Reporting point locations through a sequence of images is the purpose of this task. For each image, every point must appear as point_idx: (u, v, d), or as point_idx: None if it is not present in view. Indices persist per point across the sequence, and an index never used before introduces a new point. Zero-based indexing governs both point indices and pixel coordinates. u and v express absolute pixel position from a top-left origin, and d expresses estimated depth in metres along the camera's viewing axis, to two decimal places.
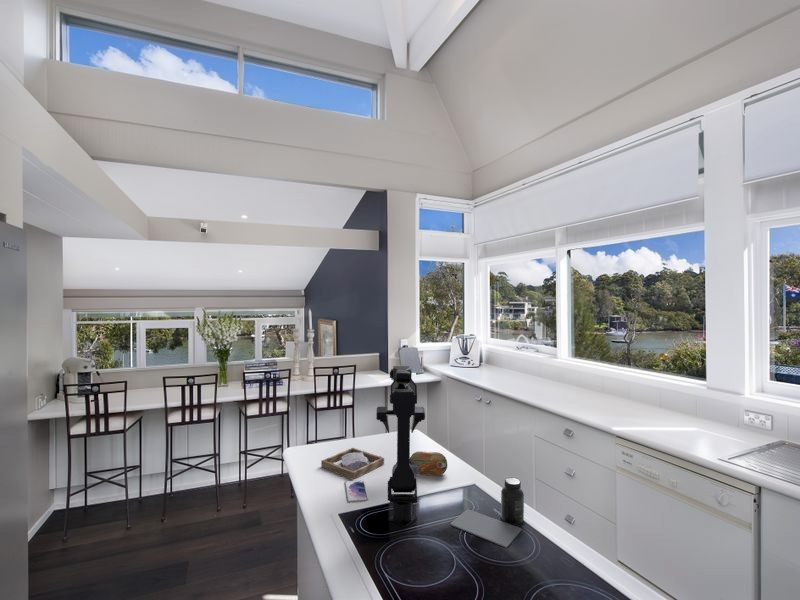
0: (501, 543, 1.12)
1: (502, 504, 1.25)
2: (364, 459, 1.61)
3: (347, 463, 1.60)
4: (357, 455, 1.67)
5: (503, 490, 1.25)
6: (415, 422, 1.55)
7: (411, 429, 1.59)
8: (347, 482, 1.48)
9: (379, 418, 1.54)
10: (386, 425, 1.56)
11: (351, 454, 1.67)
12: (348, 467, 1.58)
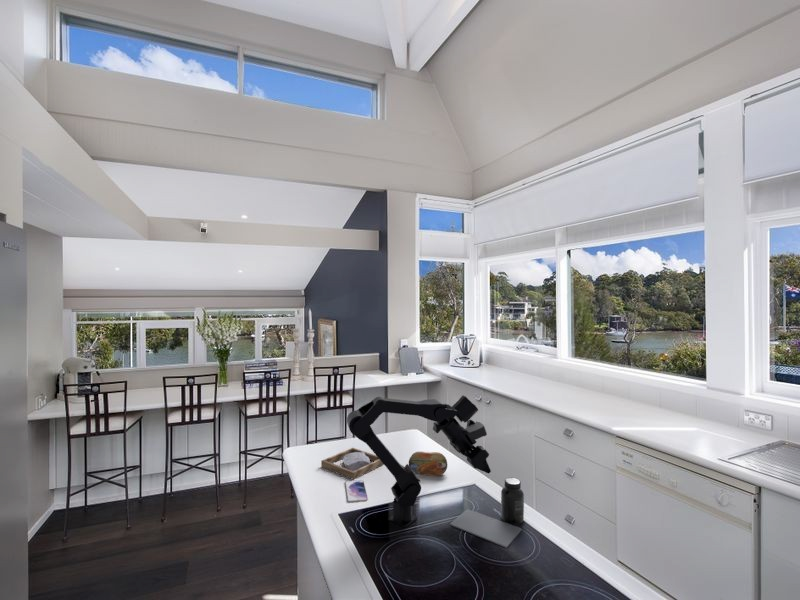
0: (501, 543, 1.12)
1: (502, 504, 1.25)
2: (366, 459, 1.61)
3: (349, 463, 1.60)
4: (359, 455, 1.67)
5: (503, 490, 1.25)
6: None
7: None
8: (347, 482, 1.48)
9: (452, 446, 1.37)
10: None
11: (353, 454, 1.68)
12: (350, 467, 1.58)
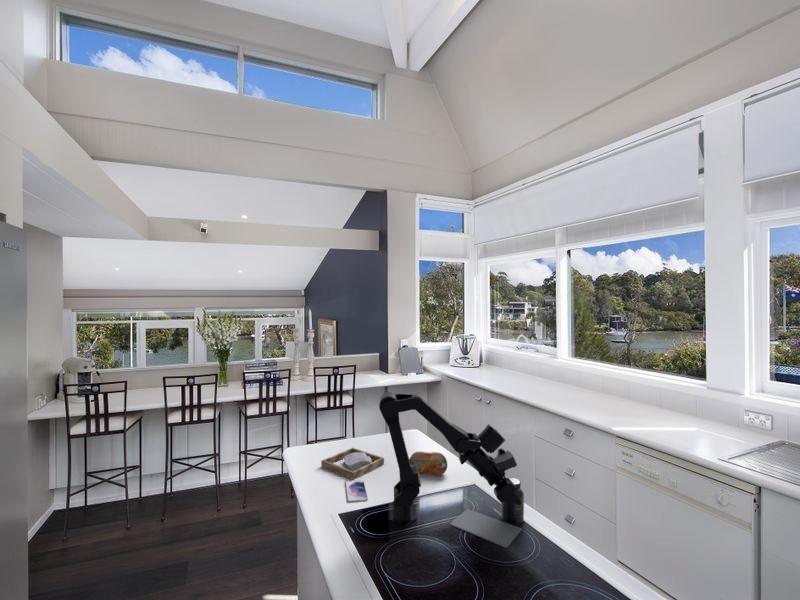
0: (501, 543, 1.12)
1: (502, 504, 1.25)
2: (368, 459, 1.62)
3: (351, 463, 1.60)
4: (360, 455, 1.67)
5: None
6: None
7: None
8: (347, 482, 1.48)
9: None
10: None
11: (354, 454, 1.68)
12: (352, 467, 1.58)
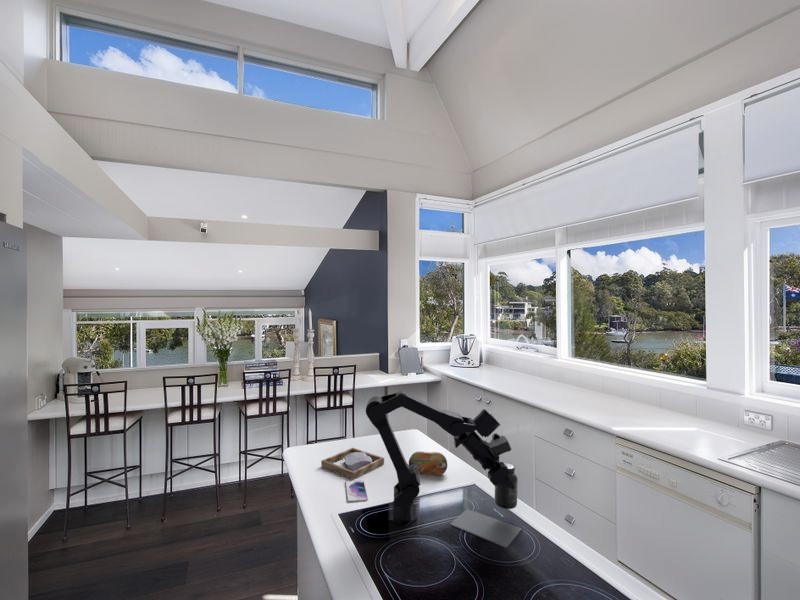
0: (501, 543, 1.12)
1: (496, 488, 1.24)
2: (368, 458, 1.62)
3: (351, 463, 1.60)
4: (360, 455, 1.67)
5: None
6: None
7: None
8: (347, 482, 1.48)
9: None
10: None
11: (354, 454, 1.68)
12: (353, 467, 1.58)
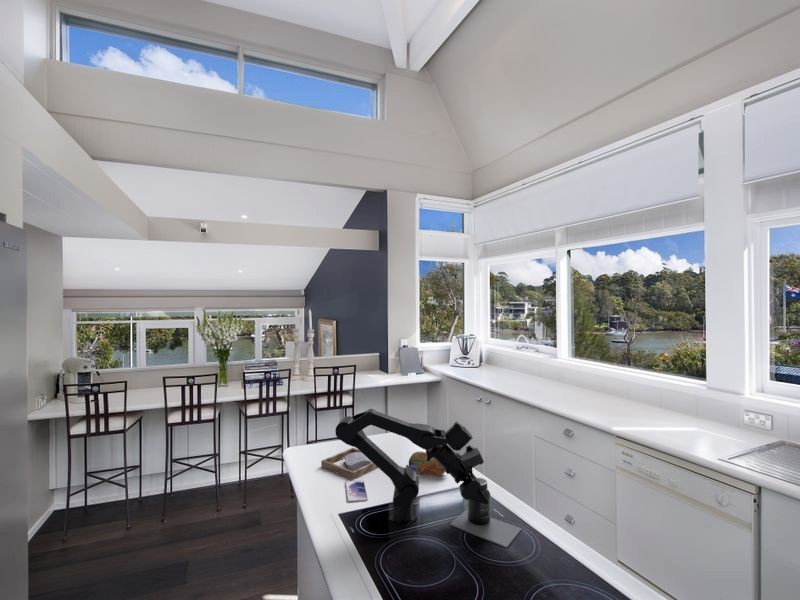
0: (501, 543, 1.12)
1: (468, 505, 1.23)
2: None
3: (352, 463, 1.60)
4: (360, 455, 1.67)
5: None
6: None
7: None
8: (347, 482, 1.48)
9: None
10: None
11: (354, 454, 1.68)
12: (353, 467, 1.58)
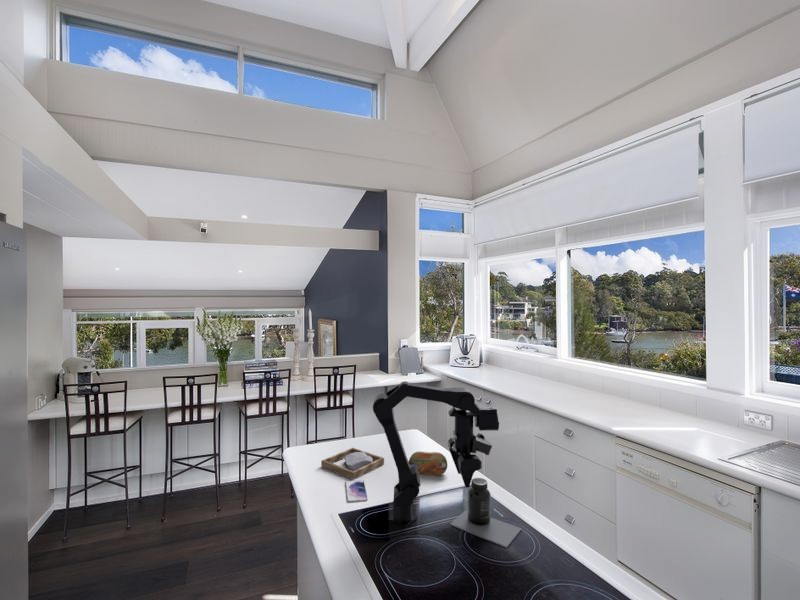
0: (501, 543, 1.12)
1: (468, 505, 1.23)
2: (369, 458, 1.62)
3: (352, 463, 1.60)
4: (360, 454, 1.67)
5: (470, 491, 1.24)
6: (459, 468, 1.18)
7: None
8: (347, 482, 1.48)
9: (448, 444, 1.32)
10: None
11: (354, 454, 1.68)
12: (354, 467, 1.58)
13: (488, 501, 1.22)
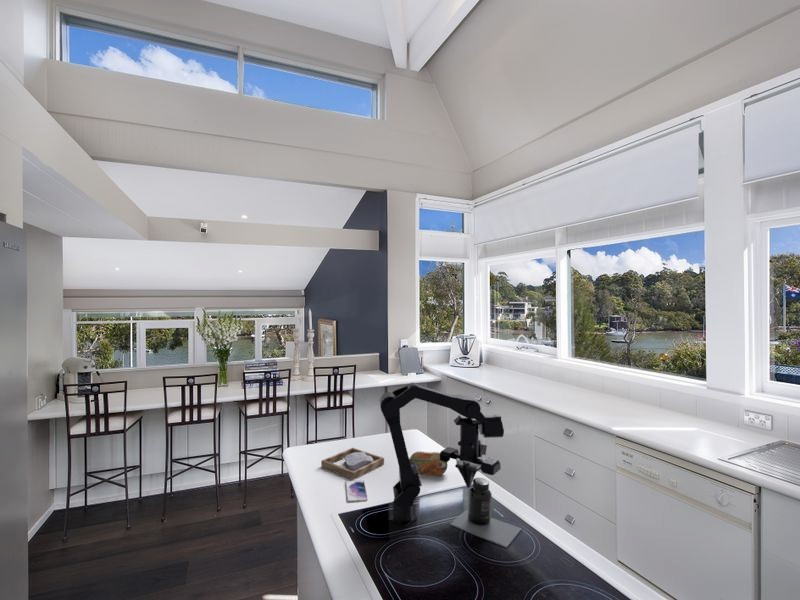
0: (501, 543, 1.12)
1: (469, 504, 1.23)
2: (369, 458, 1.62)
3: (353, 463, 1.60)
4: (360, 455, 1.67)
5: (471, 490, 1.24)
6: (468, 472, 1.23)
7: None
8: (348, 482, 1.48)
9: (441, 458, 1.29)
10: (463, 474, 1.25)
11: (354, 454, 1.68)
12: (355, 467, 1.58)
13: (489, 501, 1.21)
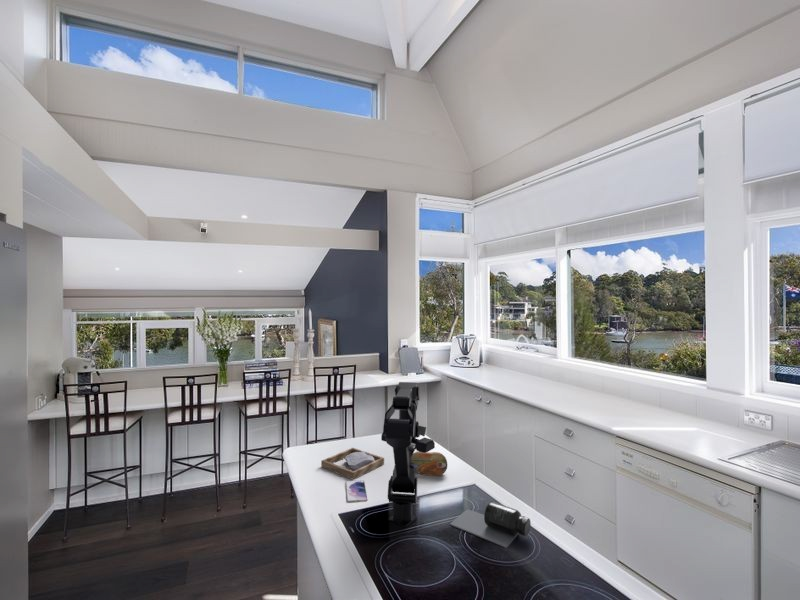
0: (501, 543, 1.12)
1: (500, 516, 1.16)
2: (371, 457, 1.63)
3: (355, 463, 1.60)
4: (360, 454, 1.67)
5: (515, 520, 1.15)
6: None
7: None
8: (348, 482, 1.48)
9: (382, 438, 1.39)
10: None
11: (354, 454, 1.68)
12: (357, 467, 1.59)
13: None
